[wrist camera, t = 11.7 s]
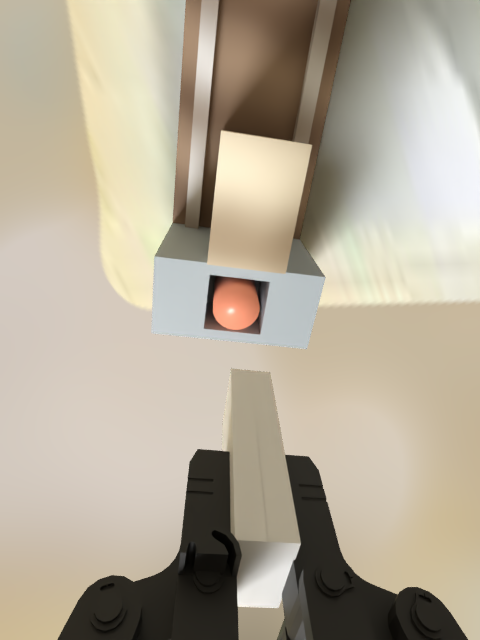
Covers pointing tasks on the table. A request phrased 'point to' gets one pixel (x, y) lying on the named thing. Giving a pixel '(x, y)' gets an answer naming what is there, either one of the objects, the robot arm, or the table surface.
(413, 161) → the table surface
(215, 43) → the rail bed
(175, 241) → the cabinet
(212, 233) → the carriage
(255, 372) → the robot arm
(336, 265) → the table surface
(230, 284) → the button
